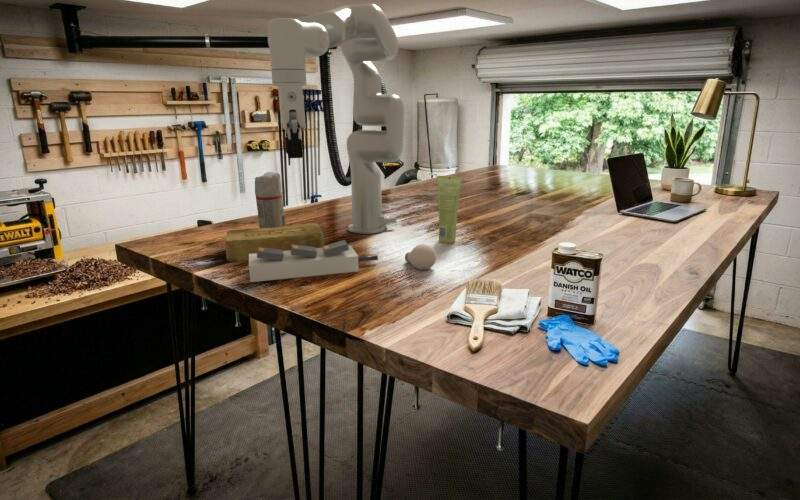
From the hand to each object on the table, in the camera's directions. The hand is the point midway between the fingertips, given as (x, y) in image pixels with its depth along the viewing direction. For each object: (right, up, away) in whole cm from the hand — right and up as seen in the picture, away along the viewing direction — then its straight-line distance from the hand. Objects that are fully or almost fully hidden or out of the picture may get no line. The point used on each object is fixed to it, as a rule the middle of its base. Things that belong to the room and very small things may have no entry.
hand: (294, 155), depth 119 cm
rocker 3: (+9, -22, +8) cm, 25 cm away
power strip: (+4, -27, +9) cm, 29 cm away
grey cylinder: (-15, -18, +39) cm, 46 cm away
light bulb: (+30, -27, +11) cm, 41 cm away
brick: (-10, -23, +25) cm, 35 cm away
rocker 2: (+1, -23, +6) cm, 23 cm away
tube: (+39, -20, +33) cm, 55 cm away
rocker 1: (-7, -23, +4) cm, 25 cm away
